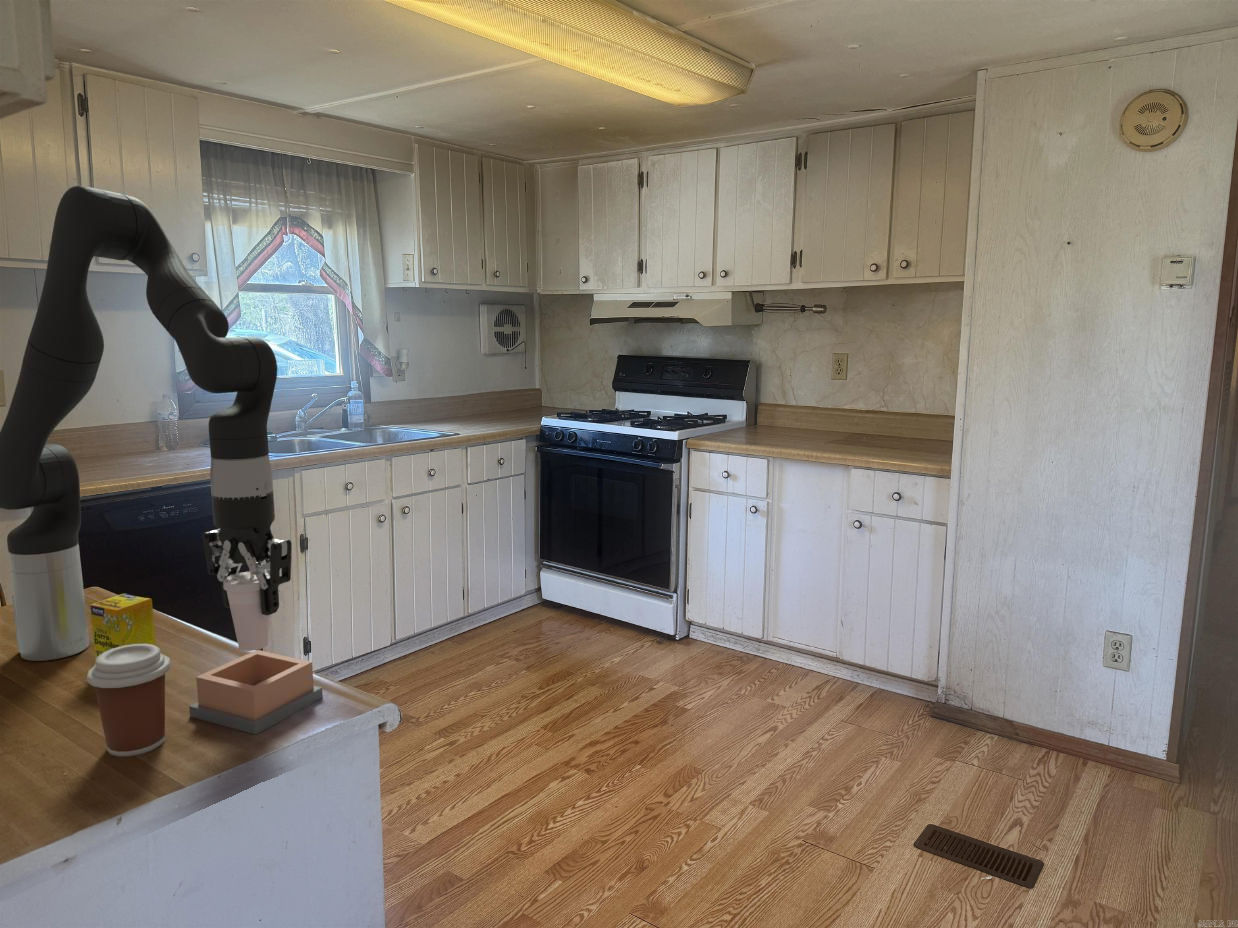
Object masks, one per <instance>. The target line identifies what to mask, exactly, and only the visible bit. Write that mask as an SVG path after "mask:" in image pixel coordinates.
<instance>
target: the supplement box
mask: <svg viewBox="0 0 1238 928" xmlns="http://www.w3.org/2000/svg"><path fill="white" fill-rule="evenodd" d="M89 608H90V610H89V611H90V618H91V619H90V620H91V628H92V629H91V630H92V638H93V648H94V649H93V650H94V657H95V659H94V660H96V658H97V657H98V656H99V655H101V654H102V653H103V652H106V651H108V650H111V649H113V648H117V647H121V646H125V645H132V644H151V645H155V646H157V644H156V642H157V641H156V634H155V622H154V621H155V620H154V608H153V599H152V598H149V597H141V596H137V595H132V594H128V593H126V592H125V593H121V594H118V595H115V596H112V597H109V598H106V599H103V600H99V601H97V602H94V603H91V604H90V605H89Z"/></svg>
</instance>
